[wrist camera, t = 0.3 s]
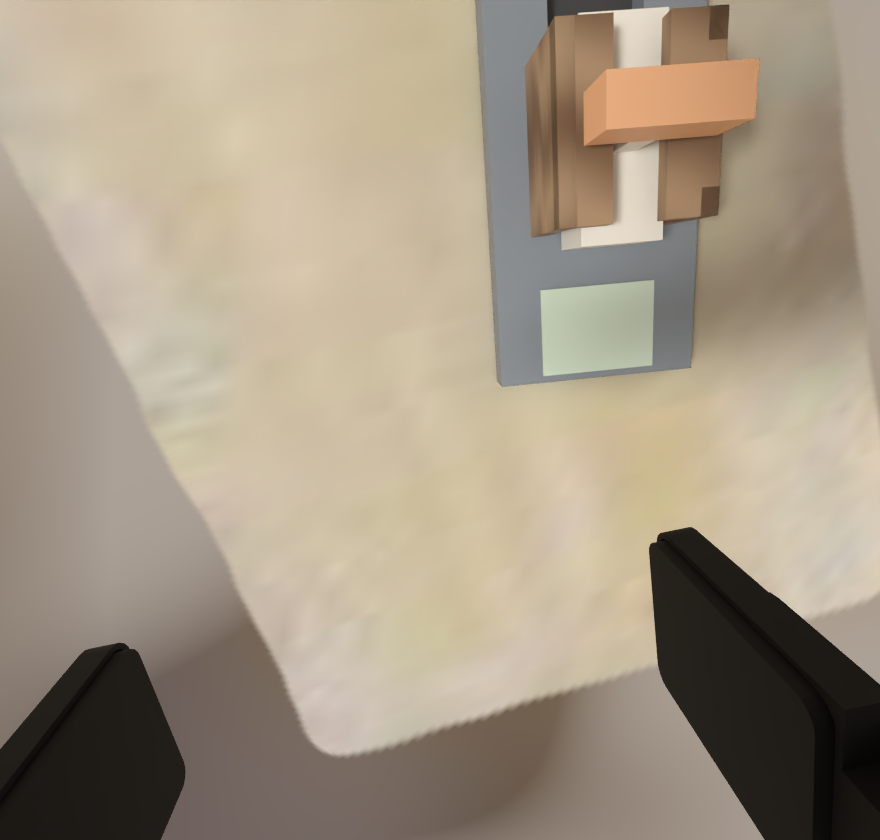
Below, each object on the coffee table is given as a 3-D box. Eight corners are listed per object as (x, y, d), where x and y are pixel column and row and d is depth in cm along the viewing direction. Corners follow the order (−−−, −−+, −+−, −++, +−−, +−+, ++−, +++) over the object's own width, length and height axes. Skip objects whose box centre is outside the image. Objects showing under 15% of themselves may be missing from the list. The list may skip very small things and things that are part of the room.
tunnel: (524, 66, 32) (554, 16, 26) (666, 56, 33) (729, 4, 26) (531, 237, 35) (559, 228, 29) (661, 226, 35) (717, 214, 29)
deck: (469, -107, 31) (474, -135, 29) (695, -120, 32) (715, -147, 30) (497, 381, 39) (502, 387, 37) (677, 363, 40) (692, 368, 38)
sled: (540, 45, 32) (606, -62, 22) (652, 38, 32) (768, -72, 22) (547, 251, 35) (606, 241, 25) (648, 242, 35) (747, 228, 25)
